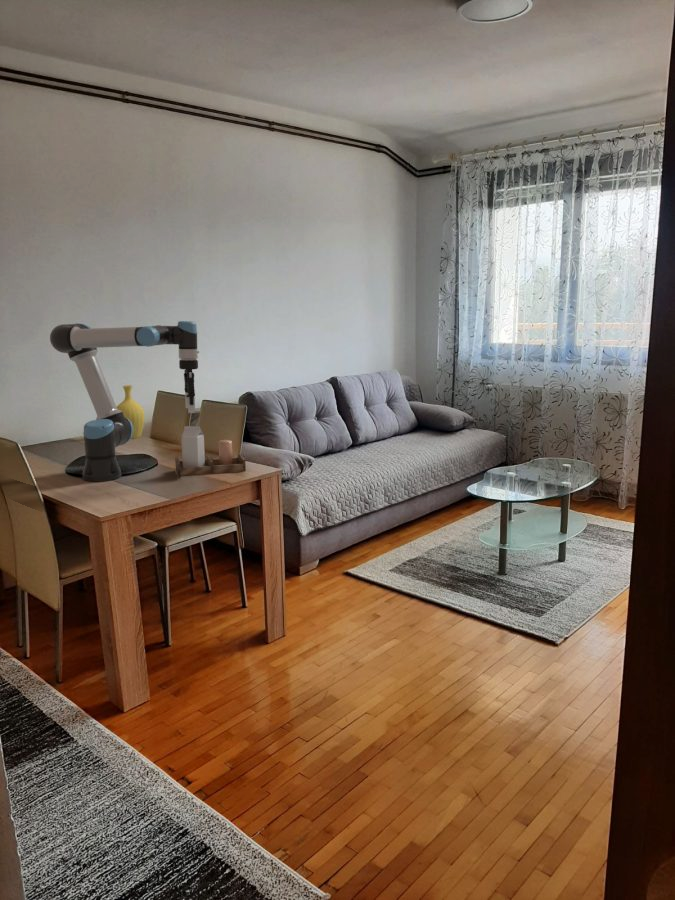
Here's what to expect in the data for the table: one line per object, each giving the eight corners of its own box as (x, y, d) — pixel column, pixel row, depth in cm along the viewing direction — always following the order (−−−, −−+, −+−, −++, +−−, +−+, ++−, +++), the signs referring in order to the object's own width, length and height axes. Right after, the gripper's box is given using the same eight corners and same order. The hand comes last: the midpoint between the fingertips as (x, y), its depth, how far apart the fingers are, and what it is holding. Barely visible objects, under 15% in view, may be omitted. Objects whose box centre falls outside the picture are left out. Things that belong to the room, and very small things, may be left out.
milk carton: (198, 472, 277) (196, 428, 273) (182, 472, 278) (180, 427, 274) (205, 469, 284) (203, 425, 280) (189, 468, 285) (187, 424, 281)
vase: (127, 433, 371) (124, 383, 365) (151, 435, 366) (149, 384, 360) (108, 438, 356) (105, 386, 350) (134, 440, 351) (131, 388, 345)
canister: (220, 470, 282) (219, 442, 279) (218, 467, 287) (217, 440, 284) (233, 469, 283) (232, 442, 281) (231, 466, 288) (230, 439, 286)
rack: (178, 478, 273) (177, 463, 271) (175, 470, 286) (175, 456, 284) (245, 473, 281) (245, 459, 280) (240, 466, 294) (239, 452, 293)
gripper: (200, 361, 261) (202, 414, 266) (194, 357, 284) (196, 405, 289) (181, 361, 259) (183, 415, 263) (177, 357, 282) (178, 406, 287)
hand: (190, 410), depth 276 cm, fingers open, 13 cm apart
